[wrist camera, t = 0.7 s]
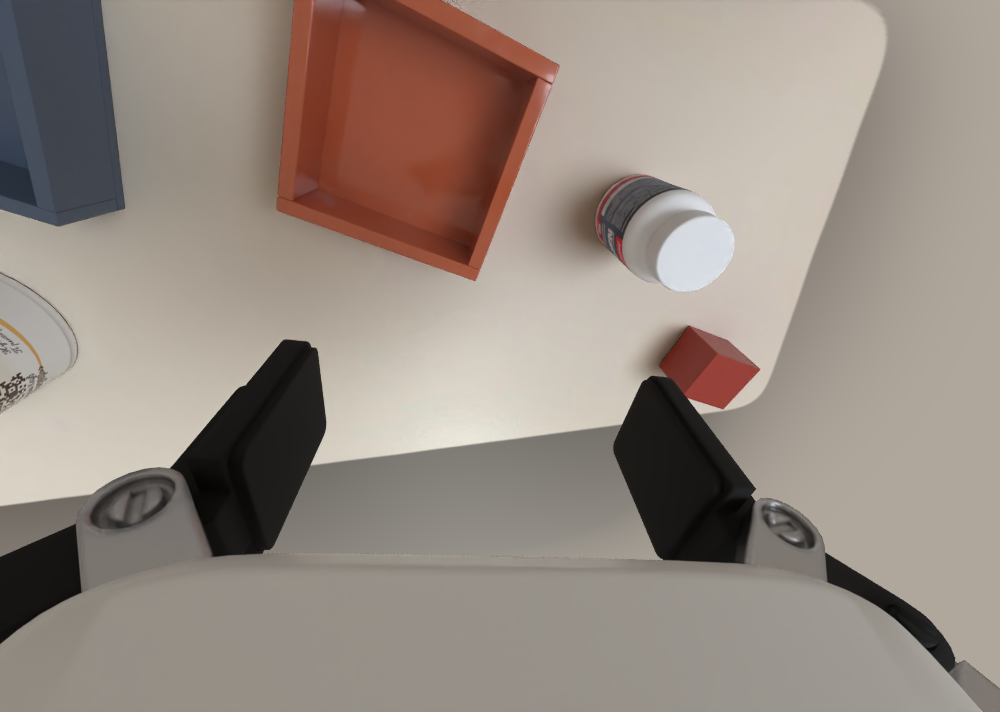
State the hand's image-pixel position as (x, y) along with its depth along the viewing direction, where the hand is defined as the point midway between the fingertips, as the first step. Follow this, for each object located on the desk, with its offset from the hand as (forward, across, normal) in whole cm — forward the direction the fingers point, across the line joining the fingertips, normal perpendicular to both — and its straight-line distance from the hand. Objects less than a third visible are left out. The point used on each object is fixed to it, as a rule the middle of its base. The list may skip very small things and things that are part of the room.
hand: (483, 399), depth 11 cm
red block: (+18, -20, +8) cm, 29 cm away
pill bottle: (+18, -11, -3) cm, 21 cm away
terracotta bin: (+18, +4, -5) cm, 19 cm away
